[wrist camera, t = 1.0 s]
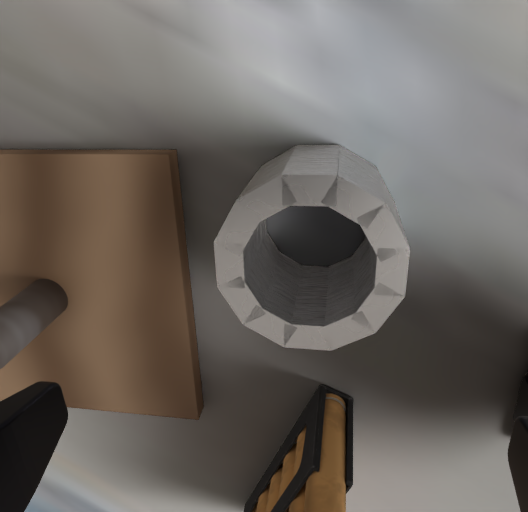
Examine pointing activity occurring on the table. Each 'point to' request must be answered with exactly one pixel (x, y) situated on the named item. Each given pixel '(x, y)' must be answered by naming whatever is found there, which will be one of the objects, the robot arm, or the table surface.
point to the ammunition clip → (311, 460)
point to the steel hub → (313, 277)
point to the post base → (97, 281)
